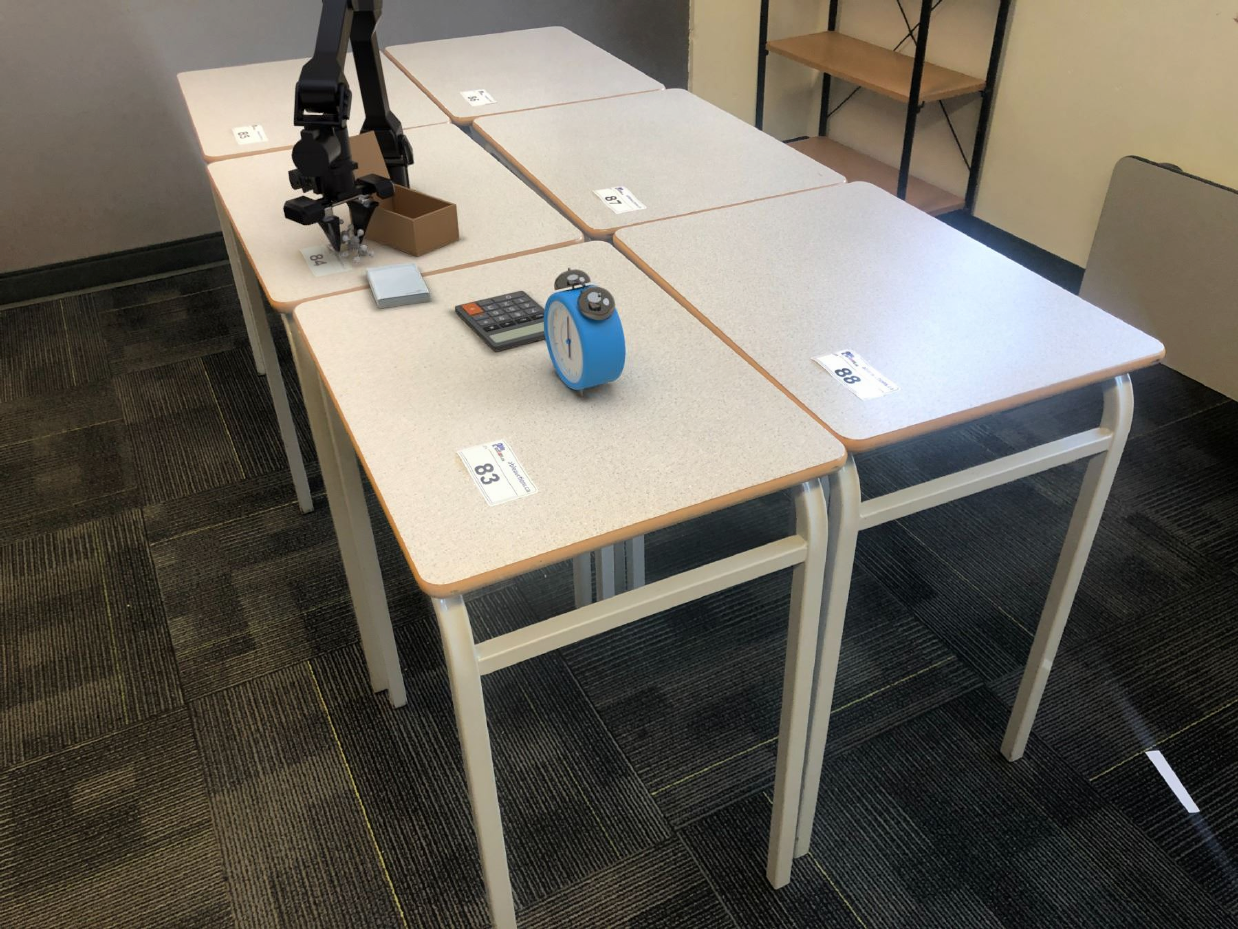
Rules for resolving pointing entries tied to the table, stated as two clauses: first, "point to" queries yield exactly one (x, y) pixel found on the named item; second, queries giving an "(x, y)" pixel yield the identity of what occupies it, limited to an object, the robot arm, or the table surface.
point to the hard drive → (397, 285)
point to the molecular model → (353, 243)
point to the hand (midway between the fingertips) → (348, 247)
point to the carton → (413, 222)
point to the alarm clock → (583, 332)
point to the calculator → (505, 319)
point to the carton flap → (367, 155)
